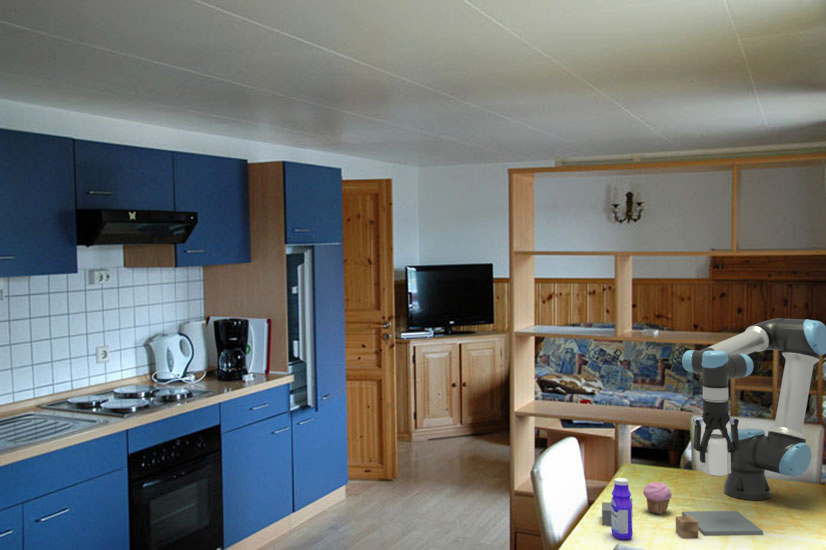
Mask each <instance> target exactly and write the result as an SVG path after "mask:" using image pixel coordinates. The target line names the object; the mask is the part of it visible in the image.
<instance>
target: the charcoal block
mask: <svg viewBox="0 0 826 550" xmlns="http://www.w3.org/2000/svg"><path fill="white" fill-rule="evenodd" d="M601 521H602V526H604V525H606V527H611V502H604V501H602V502H601Z"/></svg>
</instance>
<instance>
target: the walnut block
mask: <svg viewBox="0 0 826 550" xmlns="http://www.w3.org/2000/svg"><path fill="white" fill-rule="evenodd" d="M675 533H676V534H677V535H678V536H679V537H680V538H681V539H699V530H698V521H697V520H695V519H694V518H693V517H692V516H682V515H678V516H677V515H676V516H675Z"/></svg>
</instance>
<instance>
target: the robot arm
mask: <svg viewBox="0 0 826 550" xmlns="http://www.w3.org/2000/svg"><path fill="white" fill-rule="evenodd" d="M767 350H769V351H771V350H772V351H781V355H782V356H783V357H784V359H785V362H784V370H783V374H782V380H781V386H780V392H779V398H778V404H777V410H776V416H775V419H774V420H775V421H774V426H773V427H772V428H770V429H768V432H767V435H766V432H765V430H763V429H760V428H738V426H739V422H740V420H739V419H738V418H736V417H731V416H730V414H729V406H730V405H729V401H728V400H729V380H733V379H739V378H740V379H742V378H745V377H747V376H750V375H751V374H752V372H753V370H754V362H753V360H752V358H751V357H750V356H749V354H752V353H755V352H757V353H759V352H763V351H767ZM825 354H826V325H825V324H824V323H823V322H822V321H821V320H820V321H819V320H813V319H804V318H803V319H802V318H797V319H796V318H783V317H782V318H781V317H779V318H772V319H768V320H765V321H761V322H758V323H756V324H753V325H749V326H748V327H746V329H745V331H744V332H741V333H739V334H737V335H734V336H732V337H729V338H726V339H725V340H721V341H720V342H717V343H715V344H713V345H710V346H708V347H706V348H702V349H701V350H697V349H692V350H689V349H688V350H686V351H685V352H684V353H683V355H682V357H681V364H682V365H681V366H682V367H683V369H684V370H685V371H687V372H690V373H693V374H701V375H702V398H703V400H702V412H703V413H702V415H701V417H699V418H696V417H695V418H693V425H694V430H693V447H692V448H693V450H695V451H697V452H699V462H700V463H702V473H704V474H706V475H709V474H708V453H706V449H707V446H708V441H709V439H710V438H709V437H710V436H711V434H713V432H714V431H715V430H719V431H720V432H721V433H720V435H722V436H723V437H725V438H726V441H727V456H728V474H727V475H726V478H725V480H724V484H723V493H725V495H727V496H729V497H732V498H736V499H739V498H740V500H745V499H747V500H748V501H764V499H765V500H768V499H770V498H771V489H770V488H771V487H770V485H769V483H768V479H767V477H766V473H765V471H767V472H768V471H769V472H773V473H776V474H780V475H783V476H790V477H794V478H795V477H800V476H802V475H803V474H804V473H805V472H806V471H807V470H808V468H809V466H810V464H811V460H812V452H811V451H812V450H811V447H810V446H809V445H808V444H807V443H806V441H807V438H806V437H805V435H804V434H803V429H804V423H805V417H806V411H807V407H808V400H809V394H810V393H809V392H810V387H811V382H812V375H813V371H814V365H815V364H817V363H818V362H819V361H820V357H821V356H823V355H825ZM703 423H704V424H705V426H704V432H703V435H702V426H703ZM728 424H730V431H729V432H728V428H727V425H728ZM769 497H770V498H769ZM767 498H768V499H767Z"/></svg>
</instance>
